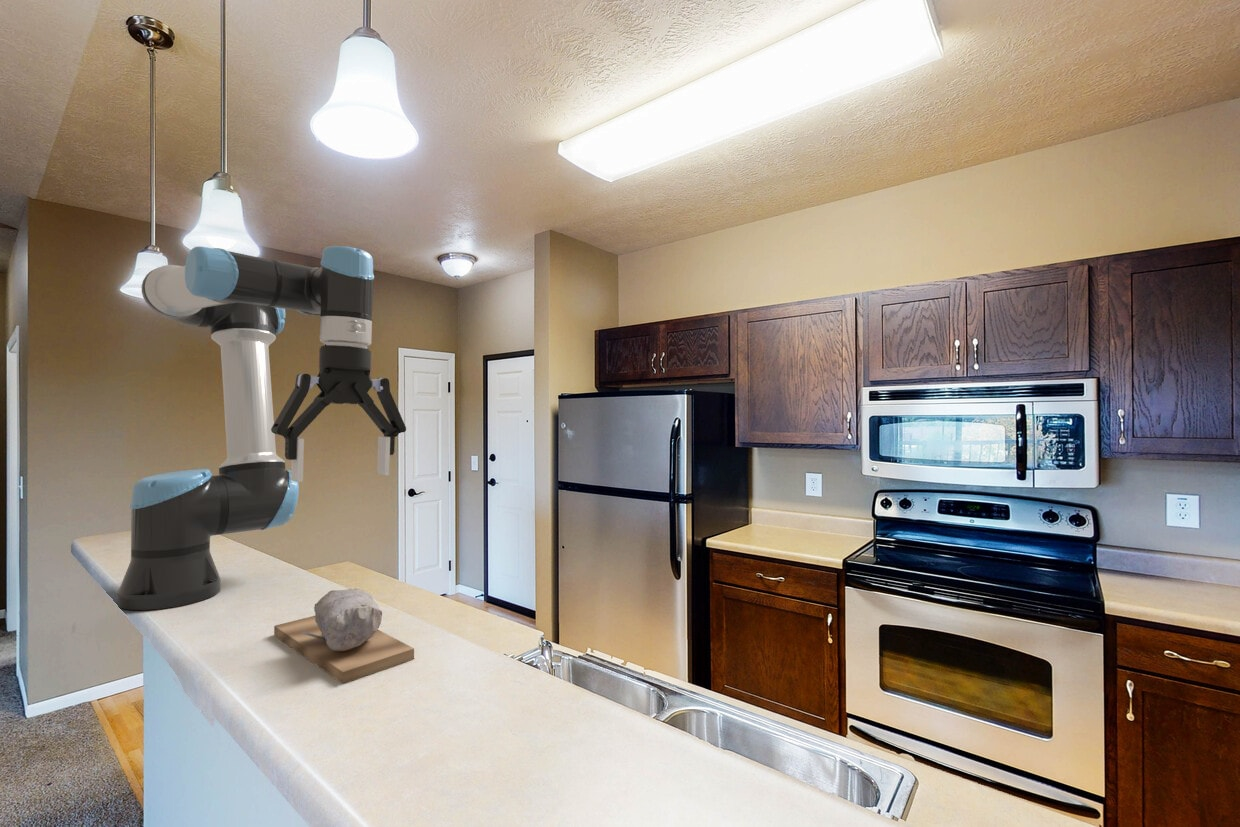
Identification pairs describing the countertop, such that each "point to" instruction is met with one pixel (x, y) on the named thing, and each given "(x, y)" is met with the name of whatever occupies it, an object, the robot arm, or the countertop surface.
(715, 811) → the countertop surface
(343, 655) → the board
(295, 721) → the countertop surface
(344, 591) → the stone
